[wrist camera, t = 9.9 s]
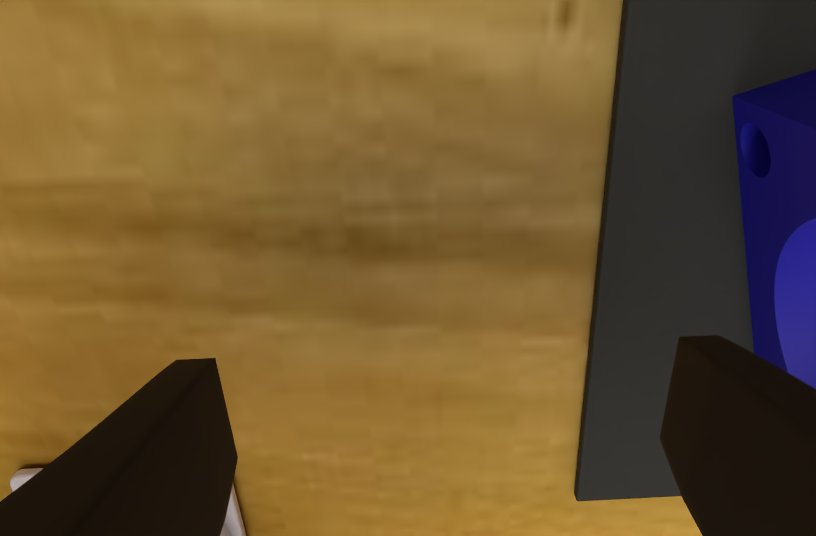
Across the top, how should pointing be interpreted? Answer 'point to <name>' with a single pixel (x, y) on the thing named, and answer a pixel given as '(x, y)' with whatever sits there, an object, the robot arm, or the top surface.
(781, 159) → the blue angular piece
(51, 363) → the top surface
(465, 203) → the top surface
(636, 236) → the mat
